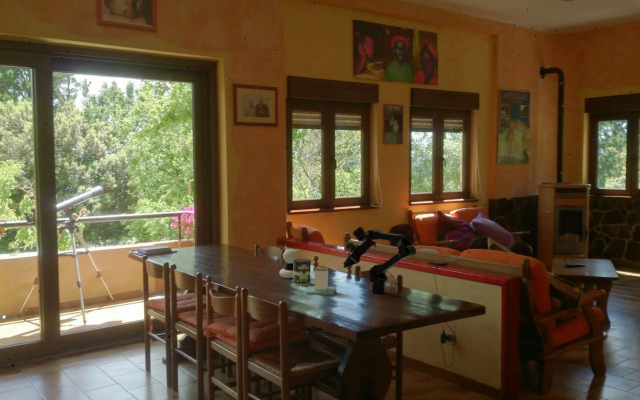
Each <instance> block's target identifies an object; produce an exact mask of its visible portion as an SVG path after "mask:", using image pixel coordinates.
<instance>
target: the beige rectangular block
mask: <svg viewBox="0 0 640 400" xmlns="http://www.w3.org/2000/svg"><path fill="white" fill-rule="evenodd" d="M328 276H329V267H325V266H315V268H314V286H315V289H314V290H318V291H327V288H328V287H329V286H328V283H329V281H328V280H329V277H328Z"/></svg>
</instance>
